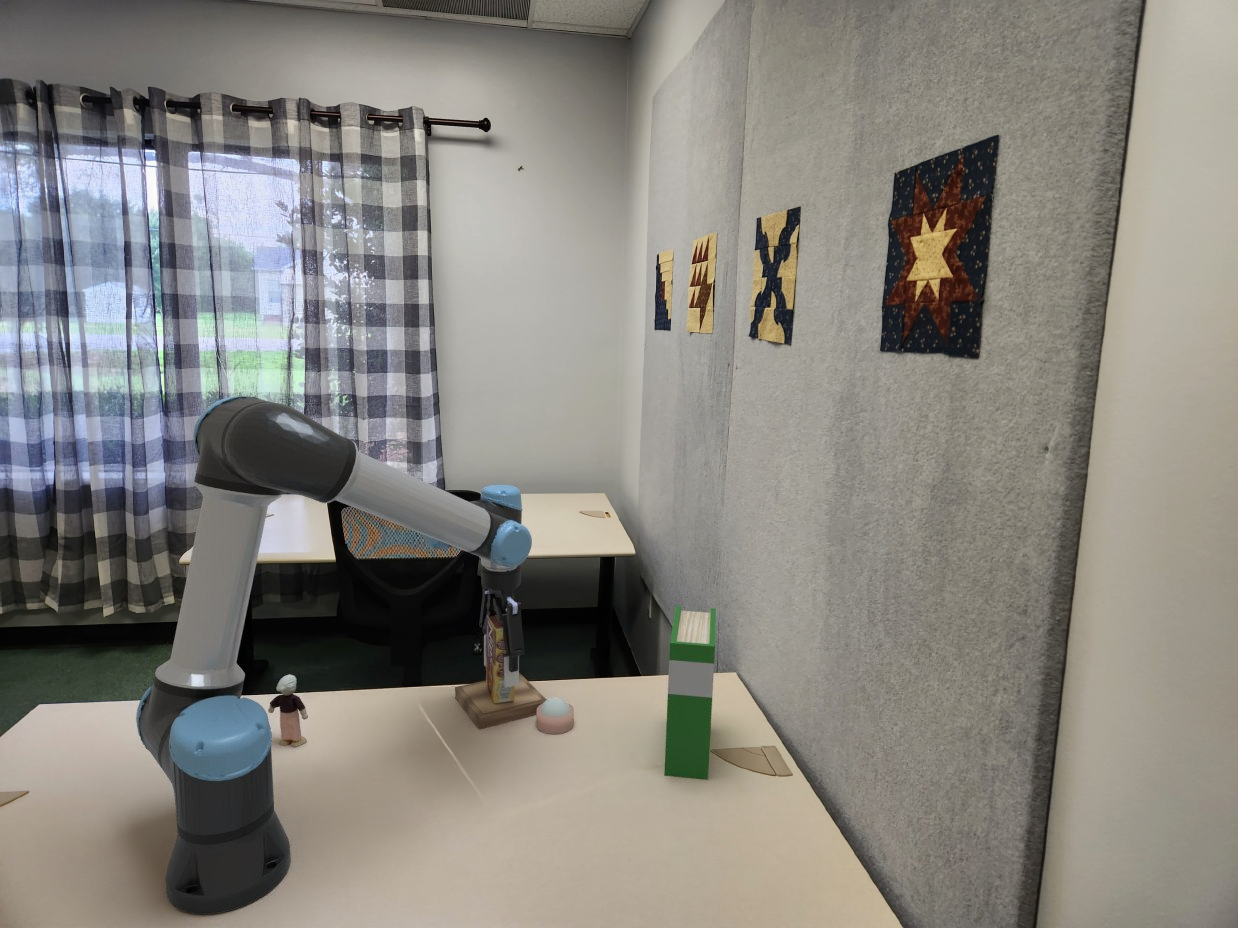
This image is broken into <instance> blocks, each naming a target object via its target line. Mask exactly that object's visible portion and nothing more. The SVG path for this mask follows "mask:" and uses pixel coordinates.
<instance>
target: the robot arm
mask: <svg viewBox="0 0 1238 928" xmlns="http://www.w3.org/2000/svg"><path fill="white" fill-rule="evenodd" d="M192 439H193V445H194V448H195V452H196V454H197V456H198V461H197V464H196V466H197V467H196V470H195V475H194V481H193V484H194V486H195V487H196V489H198V490H199V492H200V493H201V495H202V501H201V508H200V511H199V517H198V522H197V526H196V530H195V531H196V532H195V536H194V542H193V545H192V551H191V557H190V560H189V566H188V570H187V576H186V581H185V585H184V590H183V594H182V600H181V605H180V610H179V615H178V620H177V624H176V630H175V635H174V640H173V643H172V650H171V653H170V654H171V655H170V658H169V660H167V661H165V662H164V663H162V664H161V665H159V666H158V667H157V668H156V670H155V673H154V678H153V683H152V685H151V686H149V687H148V688H147V689H146V691H145V692H144V693H143V695H142V696H141V699H140V700H139V703H138V706H137V710H136V717H135V718H136V719H135V720H136V727H137V732H138V736H139V737H140V740H141V742H142V744H143V745H144V747H145V749H146V750H147V751H148V752H150V754H151V756H152V757H153V758H154V760H155V761H156V762H157V764H158V765H159V767H160V768H161V769H162V771H163V772H164V774H165V775H166V777H167V778H168V780H169V782H170V783H171V785H172V788H173V793H174V804H175V807H174V808H175V817H176V819H175V820H176V827H177V828H176V829H177V835H176V839H175V842H174V846H173V849H172V852H171V856H170V859H169V861H168V862H169V863H168V866H167V869H166V873H165V887H166V896H167V899H168V901H169V903H170V904H171V905H172V906H174V908H176V909H178V910H179V911H181V912H184V913H189V914H195V915H211V914H219V913H224V912H228V911H229V912H230V911H233V910H235V909H239V908H241V907H244V906H247V905H249V904H251V903H253V902H254V901H257V900H258V899H260V898H262V897H264V896H265V895H267V894H268V893H269V892H270V891H272V890H273V889H275V887H277V886H278V884H280V883H281V882H282V880H283V879H285V876H286V875H287V873H288V872H289V869H290V866H291V863H292V862H291V854H292V853H291V844H290V840H289V837H288V835H287V833H286V831H285V830H284V827H283V825H282V823H281V821H280V818H279V817H278V815H277V812H276V811H275V801H274V781H273V780H274V779H273V778H274V777H273V775H274V774H273V759H272V758H273V757H272V739H273V733H272V730H271V729H272V727H271V724H270V721H269V716H268V713H267V711H266V709H265V708H264V707H263V706H262V705H261V704H260V703H259V702H258V701H256V700H254V699H251V698H249V697H246V696H245V697H242V692H243V688H244V687H243V686H244V681H245V677H246V674H245V672H244V671H243V670H244V669H242V667H240V666H239V665H238V662H237V661H238V655H239V651H240V650H239V649H240V646H241V642H242V641H241V640H242V635H243V631H244V626H245V621H246V616H247V612H248V607H249V602H250V601H249V600H250V595H251V591H252V587H253V581H254V576H255V571H256V567H257V562H258V559H259V558H258V556H259V552H260V547H261V544H262V543H261V542H262V538H263V534H264V533H263V532H264V528H265V527H264V526H265V523H266V517H267V513H268V510H269V509H268V508H269V506H270V505H271V504H272V503H273V502H275V501H277V500H278V499H280V498H281V497H282V495H283V492H286V493H290V494H294V495H299V496H303V497H305V498H308V499H311V500H314V501H317V502H318V503H321V504H329V503H332V502H334V501H337V502H339V503H341V504H345V505H347V506H349V507H352V508H355V509H357V510H360V511H362V512H365V513H367V514H369V515H373V516H374V517H378V518H380V519H383V520H385V521H387V522H390V523H393V524H394V525H395V524H396V525H398V526H401V527H403V528H406V529H408V530H411V531H414V532H417V533H419V534H421V535H422V538H423V541H424V542H425V544H426V545H427V546H428V547H429V548H430V549H432V550H447V549H450V548H456V549H459V550H462V551H464V552H467V553H469V554H471V555H475V556H476V557H479V558H480V564H481V566H482V567H481V570H480V571H481V572H480V573H481V575H480V576H481V587H482V588H481V589H482V595H481V596H482V598H481V607H480V608H481V609H480V615H479V616H480V617H479V623H478V624H479V625H478V626H479V627H480V628H482V633H483V634H484V635H483V659H484V660H483V665H484V666H483V667H485V668H486V631H487V615H488V616H493V615H497V619H498V620H499V621H500V622H501V626H502V627H503V637H504V643H505V648H506V653H505V654H503V657H504V687H505V688H507V687H511V686H516V685H519V673H520V672H519V671H520V669H519V667H520V656H522V655H525V653H526V651H525V640H524V633H523V631H524V630H523V622H522V603H521V602H520V601H516V600H515V596H514V590H515V589H516V588H518V587H519V586H520V585H521V584H522V583H521V582H522V567H521V566H520V565H521V564H523V563H524V562H525V561H526V560H527V558H528V556H529V554H530V553H531V550H532V546H533V542H532V541H533V539H532V535H531V531H529V529H528V527H526V526H525V525H524V524H522V516H523V515H522V514H523V513H522V512H523V506H522V503H523V502H522V494H521V490H520V489H519V488H518V487H516V486H515V485H510V484H490V485H487V486H485V487H483V488H482V489H481V494H480V499H476V500H472V501H468V500H465V499H463V498H462V497H459V496H457V495H455V494H452V493H451V492H448V491H446V490H444V489H442V488H439V487H437V486H435V485H433V484H431V483H429V482H426V481H424V480H422V479H419V478H418V477H415V476H413V475H411V474H409V473H406V472H404V471H402V470H400V469H397V468H395V467H393V466H391V465H389V464H387V463H385V462H382V461H380V460H378V459H376V458H373V457H371V456H370V455H367V454H365V453H363V452H360V451H359V449H358V446H357V444H356V442H355V441H353V440H352V439H349V438H347V437H345V436H343V435H341V434H339V433H337V432H335V431H333V430H332V429H329V428H328V427H326V426H324V425H323V424H321V423H319V422H318V421H315V419H313V418H311V417H310V416H308V415H306V414H304V413H303V412H300V411H299V410H297V409H296V408H294V407H291V406H288V405H287V404H283V403H279V402H273V401H269V400H265V399H262V398H258V397H255V396H247V395H241V396H230V397H225V398H222V399H218V400H217V401H215V402H214V403H212V404H210V405H208V407H206V408H205V409H204V411H202V413H200V415H199V417H198V418H197V421H196V423H195V426H194V428H193V437H192ZM503 614H507V615H503Z"/></svg>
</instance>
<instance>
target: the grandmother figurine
mask: <svg viewBox="0 0 1238 928" xmlns="http://www.w3.org/2000/svg"><path fill="white" fill-rule="evenodd" d="M296 689H297V677H296V676H295V675H293V674H287V675H284V676H283V677H282V678H280V680H279V681H278V683H277V686H276V691H277V692H280V693H281V694H279V695H277V696H275V697H274V698H272V700H271V701H270V702H269V708H268V709H267V712H268V713H270V714H273V713H274V712H275V709H277V708H279V712H280V713H279V714H280V715H279V727H280V734H281V735H280V736H281V740H280V742H279V745H280V746H287V745H289V744H290V746H291V747H293V748H295V747H296V748H297V747H300V746H302V745H305V744H306V743H307V741H308V740H307V738H306V737H305V736H302V730H301V723H300V722H301V721H300V720H301V719H302V720H307V719H308V718H309V714H308V713H307V709H306V706H305V704H304V703H303V701H302V699H301V697H300V696H298V695H296V694H294V693H295V692H296ZM300 716H301V719H300Z"/></svg>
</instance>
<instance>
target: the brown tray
mask: <svg viewBox="0 0 1238 928" xmlns="http://www.w3.org/2000/svg"><path fill="white" fill-rule="evenodd" d="M454 698H455V699H456V701H457V702H458V703H459V704H460V706H461V707H462V709H464V711H465V712H466V713H467V715H468V716H469V717H470V718H471V720H472V721H473V722H474V723H475V724H476V726H477V727H478V729H479V730H484V729H487V728H491V727H496V726H499V725H503V724H507V723H512V722H516V721H519V720H522V719H526V718H529V717H530V718H531V717H534V716H537V708H538V706H539V705H541V704H543V703H544V702H545V701H546V700H548V699H547V698H546V697H545V696H544V695H543V694H541V692H540V691H538V689H537V688H535V686H534V685H532V683H530V682H529V681H528V680H527V679H526V678H525V676H523V675H522V673H520V672H519V685H516V686H514V701H512V702H504V703H494V701H493V699H492V697H491V695H490V692H489V690H488V688H487V686H486V679H485V680H481V681H477V682H473V683H468V684H463V685H458V686H455V687H454Z"/></svg>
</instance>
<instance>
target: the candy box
mask: <svg viewBox="0 0 1238 928" xmlns="http://www.w3.org/2000/svg"><path fill="white" fill-rule="evenodd" d="M503 615H507V614H503ZM505 653H506V648H505V643H504V637H503V627H502V626H501V622H500V621H499V620H498V619H497V615H493V616H488V615H487V631H486V667H485V671H486V672H485V674H486V675H485V676H486V677H485V680H486V686H487V688H488V690H489V692H490V695H491V697H492V699H493V701H494V703H504V702H512V701H514V686H511V687H507V688H505V687H504V657H503V654H505Z"/></svg>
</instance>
